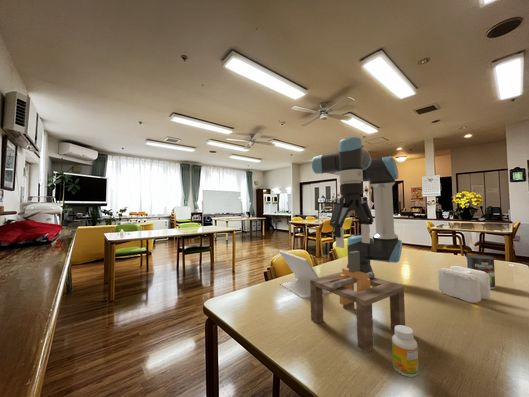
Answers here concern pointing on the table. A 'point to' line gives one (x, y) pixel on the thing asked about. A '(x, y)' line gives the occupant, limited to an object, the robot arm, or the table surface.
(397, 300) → the cutout shelf
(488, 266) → the coffee can
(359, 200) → the robot arm
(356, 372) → the table surface
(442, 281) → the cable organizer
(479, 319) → the table surface
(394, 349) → the supplement bottle
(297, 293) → the tablet stand
